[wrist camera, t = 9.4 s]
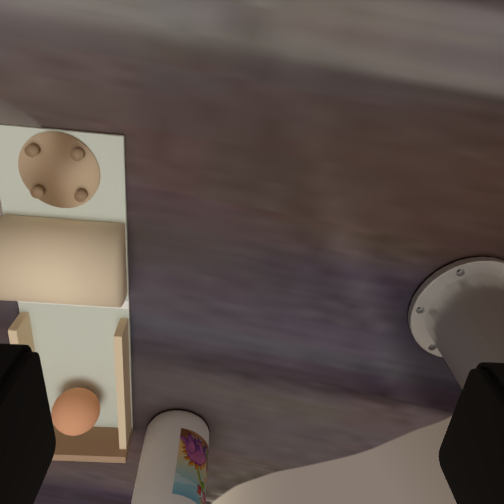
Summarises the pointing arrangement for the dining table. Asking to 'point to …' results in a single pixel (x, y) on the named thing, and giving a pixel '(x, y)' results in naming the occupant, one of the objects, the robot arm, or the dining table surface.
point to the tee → (59, 169)
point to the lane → (72, 290)
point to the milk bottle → (173, 460)
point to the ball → (75, 411)
